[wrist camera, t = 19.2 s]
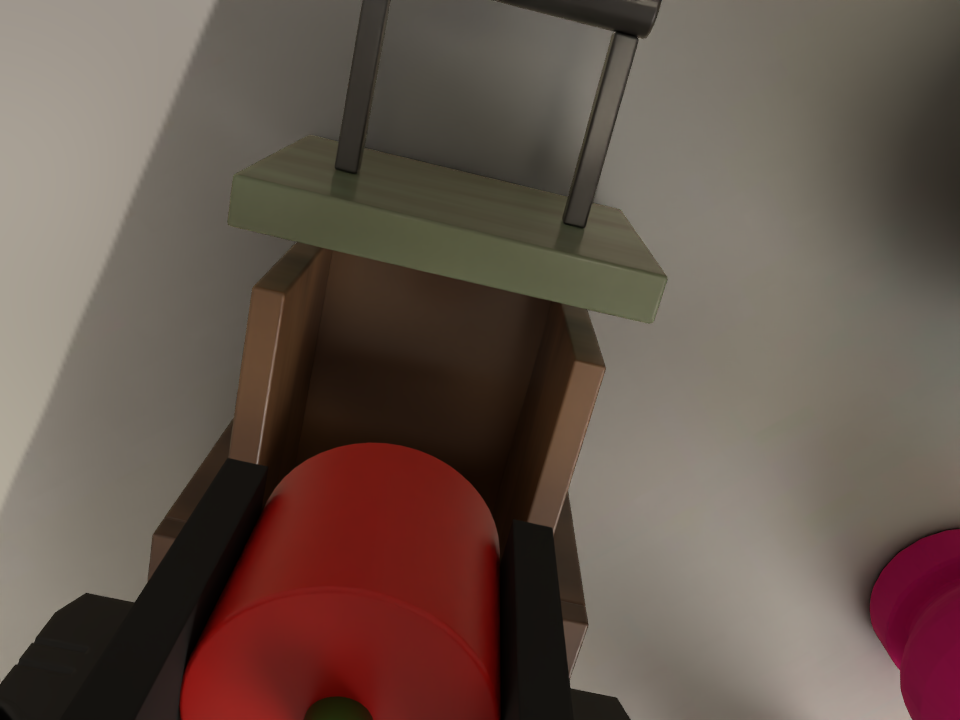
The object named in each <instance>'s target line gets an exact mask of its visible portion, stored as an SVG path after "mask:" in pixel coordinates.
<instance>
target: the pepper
mask: <svg viewBox="0 0 960 720" xmlns="http://www.w3.org/2000/svg"><path fill="white" fill-rule="evenodd" d="M179 709H180V717H181V720H501V667H500V548H499V538H498V533H497V529H496V525H495V522H494V520H493V517H492V515H491V512H490V510H489V508H488V507H487V505H486V503H485V502H484V500H483V498H482V497H481V495H480V494H479V493H478V492H477V490H476V489H475V488H474V487H473V485H472V484H471V483H470V482H468V481H467V480H466V479H465V478H464V477H463V476H462V475H461V474H460V473H459V472H457V471H456V470H455V469H453V468H452V467H450V466H449V465H448V464H446V463H444V462H443V461H441V460H439V459H437V458H435V457H434V456H431V455H429V454H426V453H424V452H422V451H419V450H416V449H412V448H409V447H405V446H401V445H394V444H388V443H358V444H351V445H346V446H341V447H337V448H334V449H331V450H328V451H325V452H322V453H320V454H318V455H316V456H314V457H311V458H309V459H307V460H306V461H304V462H303V463H301V464H300V465H298V466H297V467H295V468H294V469H293V470H292V471H291V472H290V473H289V474H288V475H286V476H285V477H284V478H283V479H282V481H281V482H280V483H279V484H278V485H277V487H276V488H275V489H274V491H273V492H272V494H271V496H270V497H269V499H268V501H267V503H266V505H265V507H264V509H263V511H262V513H261V515H260V517H259V519H258V521H257V523H256V525H255V527H254V529H253V531H252V533H251V535H250V537H249V539H248V541H247V543H246V545H245V547H244V549H243V551H242V553H241V555H240V557H239V559H238V561H237V563H236V565H235V567H234V569H233V571H232V573H231V575H230V577H229V579H228V581H227V583H226V585H225V587H224V589H223V591H222V593H221V595H220V597H219V599H218V601H217V603H216V605H215V607H214V609H213V611H212V613H211V615H210V617H209V619H208V621H207V623H206V625H205V627H204V629H203V631H202V633H201V635H200V637H199V640H198V642H197V644H196V646H195V648H194V650H193V652H192V654H191V656H190V658H189V660H188V663H187V665H186V668H185V670H184V674H183V679H182V685H181V690H180V702H179Z"/></svg>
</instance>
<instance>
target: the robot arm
mask: <svg viewBox="0 0 960 720" xmlns="http://www.w3.org/2000/svg"><path fill="white" fill-rule="evenodd" d="M267 473H268V466H263V465H259V464H254V463H249V462H245V461H240V460H235V459H231V458H227V459H226V461H225V462H224V464H223V465H222V467H221V469H220V470H219V472H218V473H217V475H216V476H215V478H214V480H213V481H212V483H211V484H210V486H209V487H208V489H207V490H206V492H205V494H204V495H203V497H202V498H201V500H200V501H199V503H198V504H197V506H196V508H195V509H194V511H193V512H192V514H191V515H190V517H189V519H188V520H187V522H186V523H185V525H184V526H183V528H182V529H181V531H180V533H179V534H178V536H177V537H176V539H175V540H174V542H173V544H172V545H171V547H170V548H169V550H168V551H167V553H166V554H165V556H164V558H163V559H162V561H161V562H160V564H159V565H158V567H157V569H156V570H155V572H154V573H153V575H152V576H151V578H150V579H149V581H148V583H147V584H146V586H145V587H144V589H143V590H142V592H141V594H140V595H139V597H138V598H137V600H136V601H135V603H134V602H129V601H124V600H119V599H114V598H109V597H104V596H99V595H94V594H89V593H85V594H84V595H82V596H81V597H79V598H77V599H76V600H74V601H73V602H71V603H69V604H68V605H66V606H65V607H63V608H61V609H60V610H58V611H57V612H55V613H54V615H53V616H52V617H51V619H50V620H49V621H48V623H47V624H46V625H45V626H44V628H43V629H42V630H41V632H40V633H39V634H38V636H37V637H36V639H35V642H34V643H31V645H30V646H29V647H28V649H27V650H26V651H25V652H24V654H23V655H22V656H21V658H20V659H19V663H18V664H17V665H16V664H15V666H14V667H13V668H12V669H11V671H10V672H9V673H8V675H7V676H6V677H5V679H4V680H3V681H2V682H1V684H0V720H181V717H180V709H179V702H180V690H181V685H182V679H183V674H184V670H185V668H186V665H187V663H188V660H189V658H190V656H191V654H192V652H193V650H194V648H195V646H196V644H197V642H198V640H199V637H200V635H201V633H202V631H203V629H204V627H205V625H206V623H207V621H208V619H209V617H210V615H211V613H212V611H213V609H214V607H215V605H216V603H217V601H218V599H219V597H220V595H221V593H222V591H223V589H224V587H225V585H226V583H227V581H228V579H229V577H230V575H231V573H232V571H233V569H234V567H235V565H236V563H237V561H238V559H239V557H240V555H241V553H242V551H243V549H244V547H245V545H246V543H247V541H248V539H249V537H250V535H251V533H252V531H253V529H254V527H255V525H256V523H257V521H258V519H259V517H260V515H261V510H262V504H263V498H264V492H265V486H266V479H267ZM500 667H501V720H631V719H630V718H629V716H628V715H627V713H626V712H625V710H624V708H623V707H622V705H621V704H620V702H619V701H618V699H617V698H616V697H611V696H606V695H601V694H596V693H591V692H586V691H581V690H576V689H571V688H570V680H569V671H568V662H567V653H566V644H565V635H564V626H563V617H562V608H561V599H560V590H559V581H558V572H557V563H556V554H555V545H554V536H553V528H552V527H548V526H543V525H539V524H534V523H529V522H525V521H520V520H515V519H513V521H512V525H511V528H510V532H509V535H508V539H507V542H506V546H505V549H504V552H503V556H502V559H501V563H500Z"/></svg>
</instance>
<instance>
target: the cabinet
mask: <svg viewBox="0 0 960 720" xmlns="http://www.w3.org/2000/svg"><path fill="white" fill-rule="evenodd" d="M233 420H234V418H233V419H232V421H231V422H230V424H229V425H228V427H227V428H226V429H225V431H224V432H223V434H222V435H221V437H220V438H219V440H218V441H217V442H216V444H215V445H214V447H213V448H212V450H211V451H210V453H209V454H208V455H207V457H206V458H205V460H204V461H203V463H202V464H201V466H200V467H199V468H198V470H197V471H196V473H195V474H194V476H193V477H192V479H191V480H190V481H189V483H188V484H187V486H186V487H185V489H184V490H183V492H182V493H181V494H180V496H179V497H178V499H177V500H176V502H175V503H174V505H173V506H172V507H171V509H170V510H169V512H168V513H167V515H166V516H165V518H164V519H163V521H162V522H161V523H160V525H159V526H158V528H157V529H156V531H155V532H154V534H153V536H152V545H151V554H150V563H149V573H148V581H149V579H150V578H151V576H152V575H153V573H154V572H155V570H156V569H157V567H158V565H159V564H160V562H161V561H162V559H163V558H164V556H165V554H166V553H167V551H168V550H169V548H170V547H171V545H172V544H173V542H174V540H175V539H176V537H177V536H178V534H179V533H180V531H181V529H182V528H183V526H184V525H185V523H186V522H187V520H188V519H189V517H190V515H191V514H192V512H193V511H194V509H195V508H196V506H197V504H198V503H199V501H200V500H201V498H202V497H203V495H204V494H205V492H206V490H207V489H208V487H209V486H210V484H211V483H212V481H213V480H214V478H215V476H216V475H217V473H218V472H219V470H220V469H221V467H222V465H223V464H224V462H225V461H226V459H227V458H228V456H229V448H230V441H231V434H232V427H233ZM554 545H555V554H556V563H557V572H558V581H559V590H560V599H561V608H562V617H563V626H564V635H565V644H566V653H567V662H568V671H569V680H570V677H571V674H572V671H573V669H574V666H575V663H576V660H577V657H578V654H579V651H580V648H581V645H582V643H583V640H584V637H585V634H586V631H587V628H588V619H587V613H586V607H585V599H584V593H583V586H582V579H581V573H580V566H579V560H578V553H577V547H576V540H575V533H574V527H573V520H572V514H571V507H570V500H569V494H568V491H567V494H566V498H565V501H564V504H563V507H562V510H561V514H560V517H559V520H558V523H557V526H556V530H555V533H554ZM147 583H148V582H147Z"/></svg>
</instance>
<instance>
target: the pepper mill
mask: <svg viewBox="0 0 960 720" xmlns="http://www.w3.org/2000/svg"><path fill="white" fill-rule="evenodd" d="M870 616H871V624H872V626H873V629H874V631H875V633H876V635H877V636H878V638H879V640H880V641H881V643H882V644H883V646H884V648H885V649H886V651H887V652H888V654H889V656H890V657H891V659H892V660H893V662H894V663H895V665H896V666H897V667H898V669H899V670H900V685H901V692H902V696H903V699H904V703H905V705H906V707H907V710H908V712H909V714H910V716H911V718H912V720H960V529H955V530H946V531H943V532H940V533H937V534H934V535H931V536H928V537H925V538H921V539H920V540H918V541H917V542H915V543H913V544H912V545H910V546H909V547H907V548H905V549H904V550H902V551H901V552H899V553H898V554H897V555H896V556H895V557H894V558H893V559H892V560H891V561H890V562H889V563H888V564H887V566H886V567H885V568H884V569H883V570H882V572H881V574H880V576H879V577H878V579H877V581H876V583H875V585H874V587H873V590H872V594H871V600H870Z"/></svg>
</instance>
